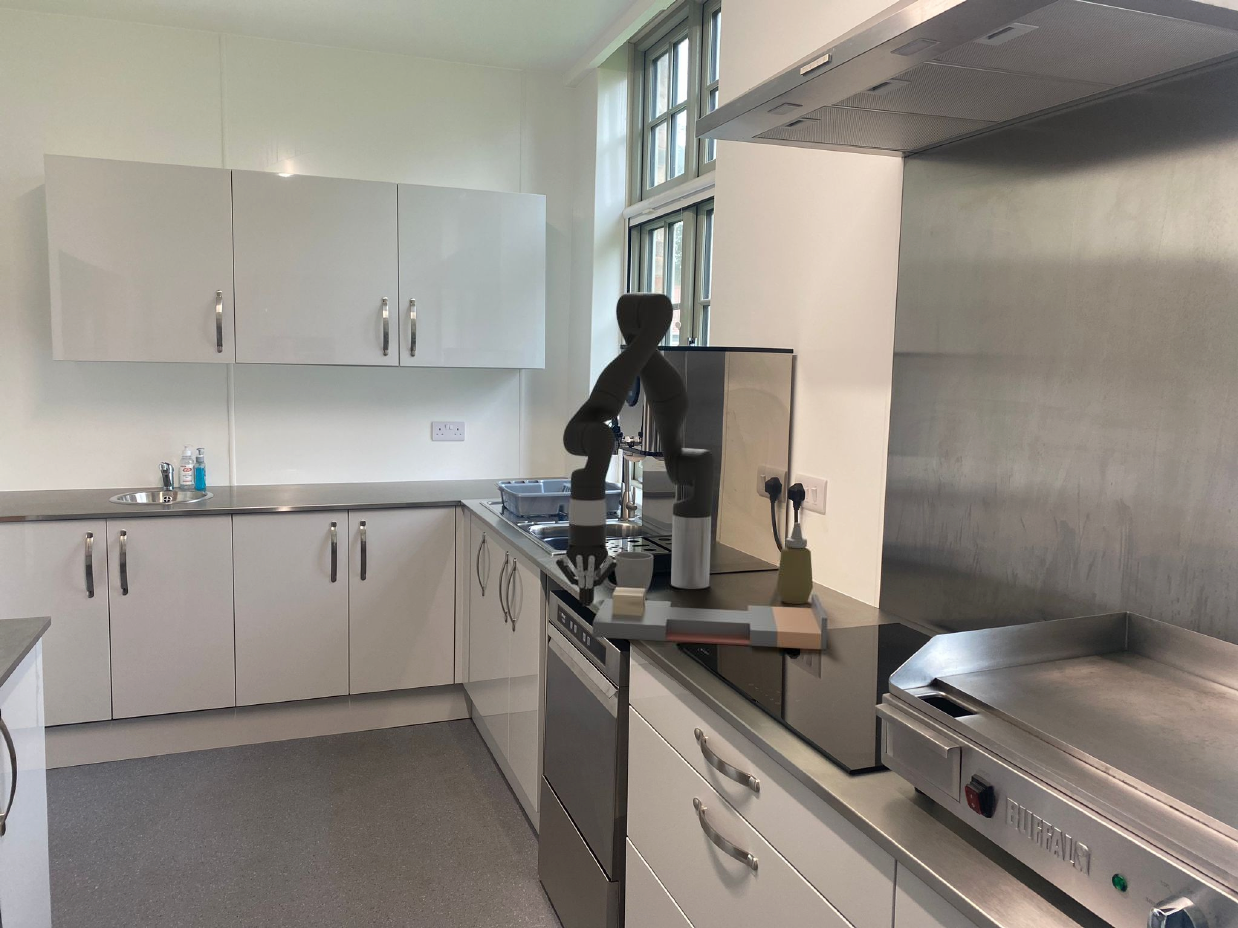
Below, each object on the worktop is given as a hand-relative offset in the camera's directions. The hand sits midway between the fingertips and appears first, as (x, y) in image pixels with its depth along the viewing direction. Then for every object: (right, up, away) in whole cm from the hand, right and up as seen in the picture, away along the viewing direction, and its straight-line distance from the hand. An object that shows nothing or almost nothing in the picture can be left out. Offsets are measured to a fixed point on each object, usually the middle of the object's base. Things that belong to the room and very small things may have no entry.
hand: (586, 605), depth 174 cm
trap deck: (+24, -5, -3) cm, 25 cm away
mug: (+8, -2, +22) cm, 24 cm away
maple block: (+9, -1, -1) cm, 9 cm away
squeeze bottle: (+46, -3, +21) cm, 51 cm away
